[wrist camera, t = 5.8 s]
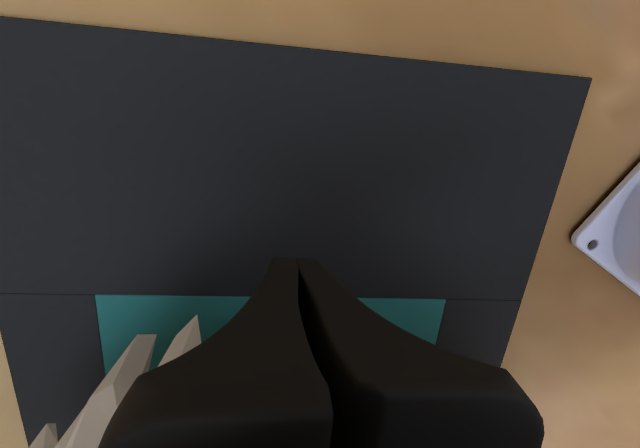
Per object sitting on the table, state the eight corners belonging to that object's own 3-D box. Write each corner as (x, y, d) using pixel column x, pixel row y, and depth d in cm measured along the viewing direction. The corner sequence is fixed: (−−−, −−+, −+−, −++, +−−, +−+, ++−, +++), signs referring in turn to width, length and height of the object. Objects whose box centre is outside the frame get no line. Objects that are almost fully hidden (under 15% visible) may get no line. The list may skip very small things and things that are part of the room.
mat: (-69, 9, 13) (-79, 7, 13) (585, 77, 16) (593, 78, 16) (65, 580, 24) (62, 588, 24) (437, 549, 28) (440, 556, 27)
